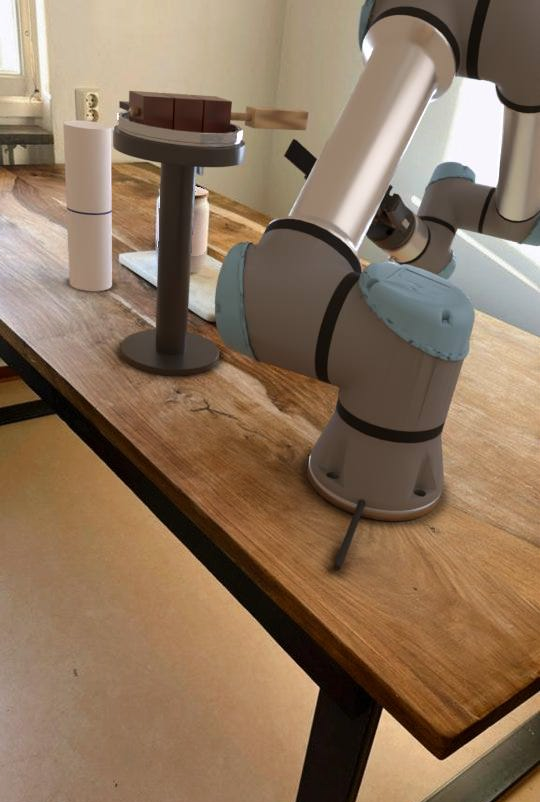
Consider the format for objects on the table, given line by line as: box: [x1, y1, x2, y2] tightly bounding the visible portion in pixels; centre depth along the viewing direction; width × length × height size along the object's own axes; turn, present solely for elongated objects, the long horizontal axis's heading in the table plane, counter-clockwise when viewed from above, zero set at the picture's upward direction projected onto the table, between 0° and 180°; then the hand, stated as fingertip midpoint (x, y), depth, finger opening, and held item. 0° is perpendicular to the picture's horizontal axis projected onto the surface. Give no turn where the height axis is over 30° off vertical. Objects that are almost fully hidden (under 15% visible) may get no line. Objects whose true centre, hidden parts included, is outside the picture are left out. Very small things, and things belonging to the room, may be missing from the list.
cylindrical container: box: [62, 119, 113, 292], centre depth 113 cm, size 7×7×25 cm
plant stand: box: [112, 100, 246, 377], centre depth 94 cm, size 16×23×30 cm
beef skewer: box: [128, 90, 310, 133], centre depth 86 cm, size 25×4×4 cm, turn 125°
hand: (317, 157), depth 97 cm, fingers open, 13 cm apart
